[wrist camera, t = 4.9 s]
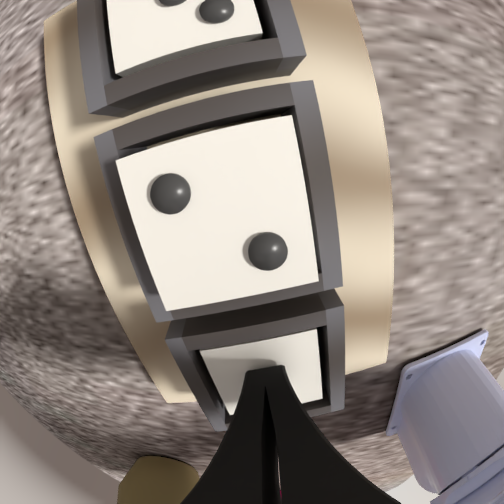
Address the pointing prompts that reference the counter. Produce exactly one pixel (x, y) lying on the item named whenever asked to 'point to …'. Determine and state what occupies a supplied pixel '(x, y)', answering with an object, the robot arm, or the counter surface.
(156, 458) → the squeeze bottle
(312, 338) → the tile one
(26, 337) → the counter surface
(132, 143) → the tile board
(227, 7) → the tile three
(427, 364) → the robot arm
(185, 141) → the tile two
